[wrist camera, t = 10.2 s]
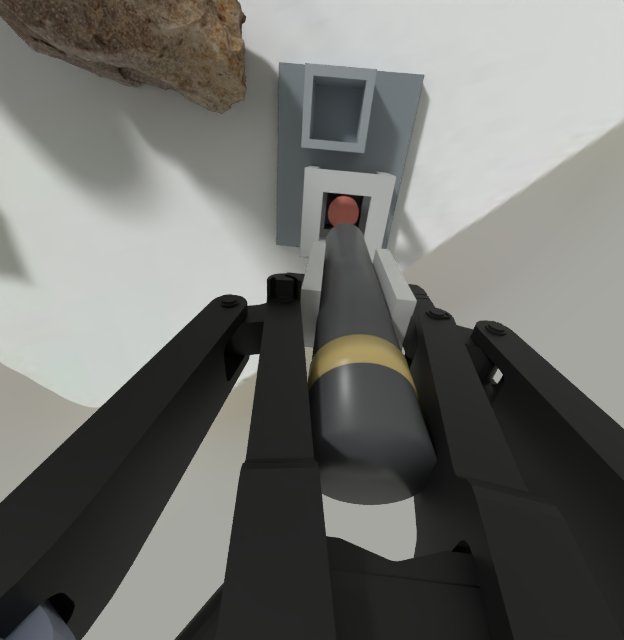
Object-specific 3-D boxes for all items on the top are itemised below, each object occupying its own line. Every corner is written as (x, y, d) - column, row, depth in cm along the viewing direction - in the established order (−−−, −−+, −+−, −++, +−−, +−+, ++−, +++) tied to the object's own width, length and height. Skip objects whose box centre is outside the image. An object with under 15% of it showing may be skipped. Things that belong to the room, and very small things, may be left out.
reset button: (330, 191, 35) (329, 195, 32) (359, 194, 34) (361, 198, 32) (327, 221, 36) (326, 227, 34) (354, 224, 36) (356, 230, 33)
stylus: (326, 220, 21) (302, 415, 5) (368, 224, 21) (462, 433, 5) (322, 260, 22) (295, 497, 7) (361, 264, 22) (417, 512, 7)
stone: (71, 74, 32) (-109, 21, 19) (47, -57, 27) (-219, -252, 14) (263, 126, 33) (216, 109, 20) (275, 9, 28) (223, -114, 15)
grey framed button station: (281, 66, 30) (263, 38, 23) (420, 78, 30) (447, 53, 22) (278, 241, 40) (265, 261, 33) (382, 252, 39) (393, 274, 32)
